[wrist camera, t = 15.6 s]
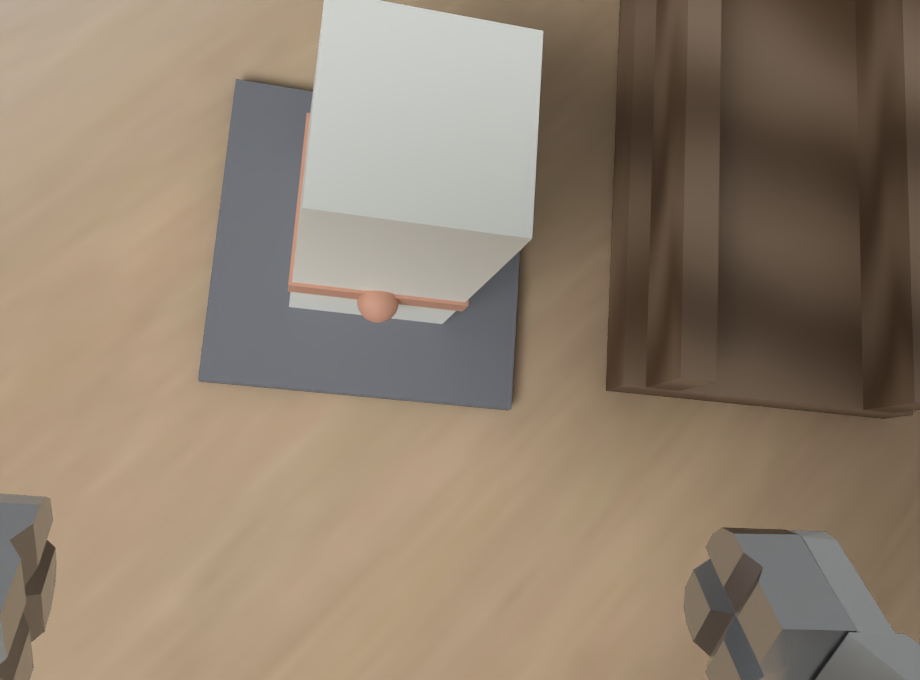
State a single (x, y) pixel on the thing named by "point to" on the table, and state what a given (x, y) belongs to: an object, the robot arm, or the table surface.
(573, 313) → the table surface
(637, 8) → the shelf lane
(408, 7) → the block
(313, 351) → the mat
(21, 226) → the table surface
